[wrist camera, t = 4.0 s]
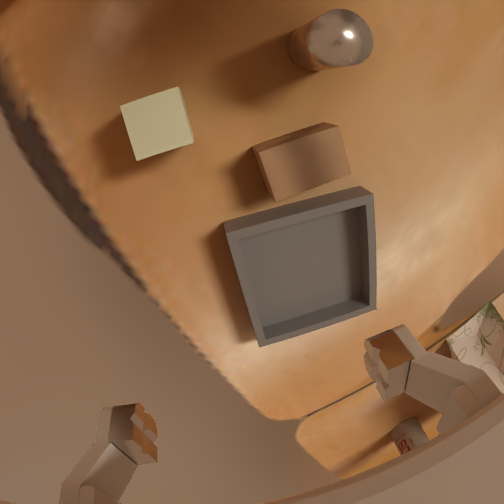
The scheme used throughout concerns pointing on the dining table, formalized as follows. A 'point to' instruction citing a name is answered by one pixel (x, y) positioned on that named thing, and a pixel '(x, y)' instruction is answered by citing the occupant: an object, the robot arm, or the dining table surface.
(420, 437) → the thermos bottle
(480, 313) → the grocery bag
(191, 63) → the dining table surface
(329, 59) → the metal cylinder
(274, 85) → the dining table surface
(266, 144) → the walnut block
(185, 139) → the sage cube
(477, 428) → the robot arm
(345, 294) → the charcoal tray
